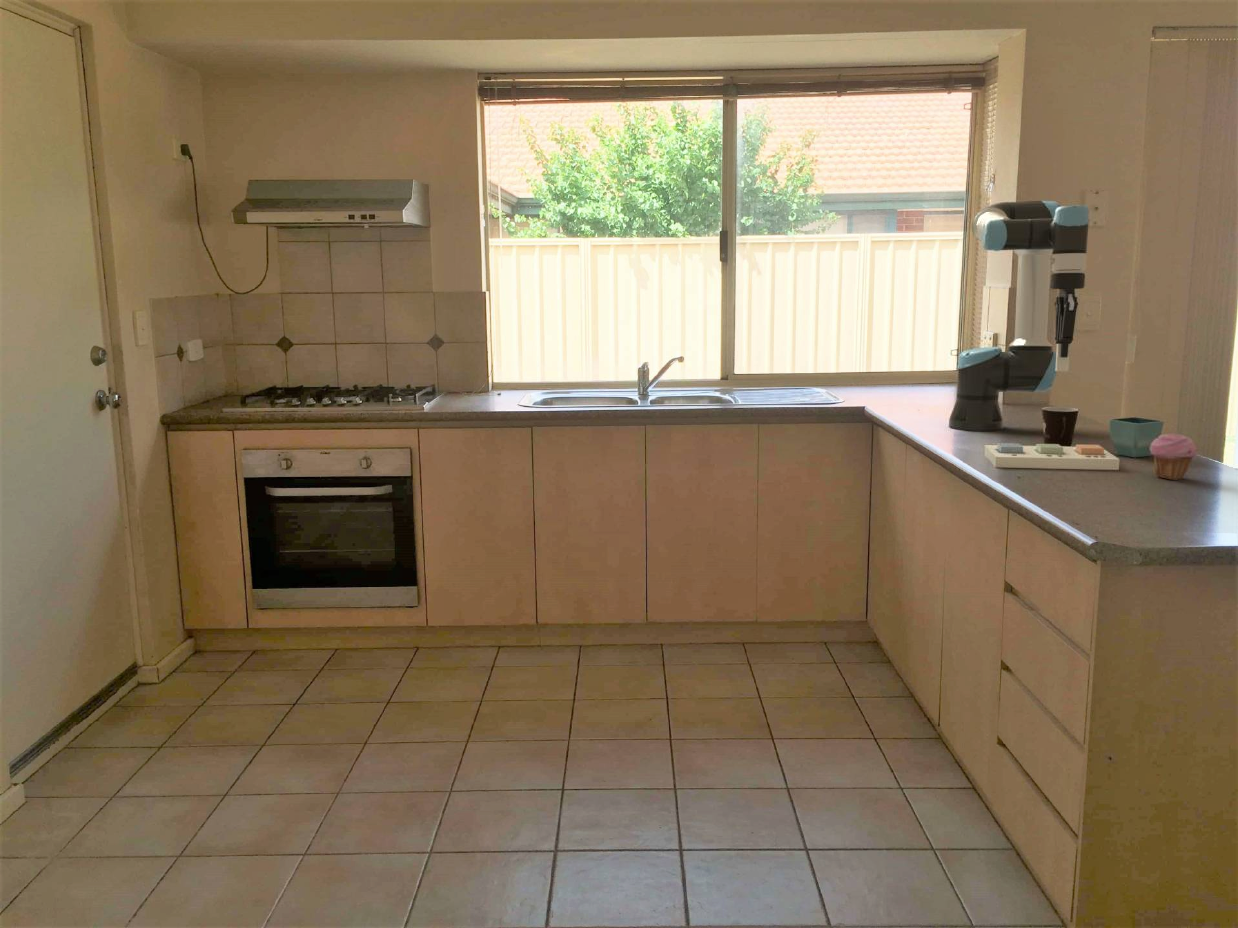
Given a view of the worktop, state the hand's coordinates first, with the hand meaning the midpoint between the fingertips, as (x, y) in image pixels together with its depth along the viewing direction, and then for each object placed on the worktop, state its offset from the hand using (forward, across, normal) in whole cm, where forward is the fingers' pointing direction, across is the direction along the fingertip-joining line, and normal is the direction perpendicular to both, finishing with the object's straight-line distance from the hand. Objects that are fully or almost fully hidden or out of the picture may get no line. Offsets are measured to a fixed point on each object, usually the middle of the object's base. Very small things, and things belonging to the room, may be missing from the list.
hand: (1061, 370), depth 239 cm
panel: (+22, +6, -3) cm, 23 cm away
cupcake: (+22, +22, +19) cm, 37 cm away
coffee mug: (+21, -14, +3) cm, 25 cm away
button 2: (+20, +7, -3) cm, 22 cm away
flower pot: (+22, -5, +19) cm, 29 cm away
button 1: (+20, +7, -12) cm, 25 cm away
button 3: (+20, +6, +6) cm, 22 cm away
